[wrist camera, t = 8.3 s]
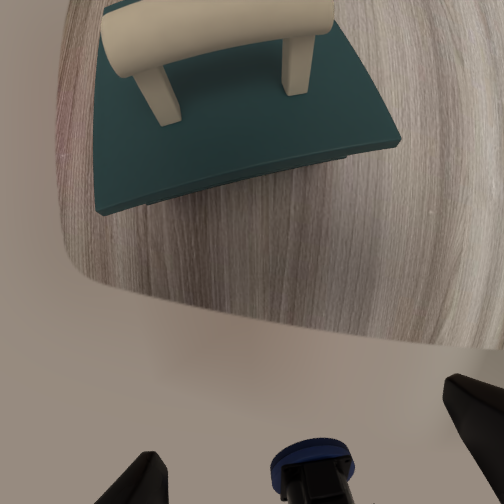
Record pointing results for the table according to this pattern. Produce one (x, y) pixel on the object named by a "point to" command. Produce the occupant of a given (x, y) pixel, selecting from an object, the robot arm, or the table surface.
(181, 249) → the table surface
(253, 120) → the lid
